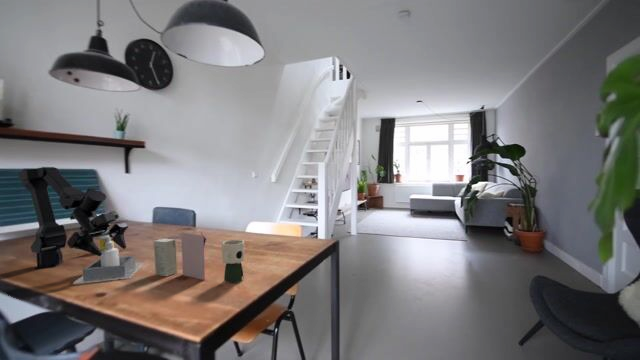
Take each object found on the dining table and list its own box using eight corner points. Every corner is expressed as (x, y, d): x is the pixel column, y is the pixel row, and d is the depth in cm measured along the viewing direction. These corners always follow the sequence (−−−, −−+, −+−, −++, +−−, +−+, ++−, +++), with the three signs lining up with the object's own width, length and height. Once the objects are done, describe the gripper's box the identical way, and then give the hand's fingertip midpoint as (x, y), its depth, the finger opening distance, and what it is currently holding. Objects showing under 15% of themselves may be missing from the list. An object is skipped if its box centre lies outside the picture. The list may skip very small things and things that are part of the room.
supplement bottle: (113, 249, 136) (112, 229, 136) (115, 251, 132) (114, 230, 132) (99, 251, 132) (98, 230, 132) (101, 253, 128) (100, 232, 128)
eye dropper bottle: (121, 270, 104) (119, 238, 103) (102, 275, 100) (100, 241, 99) (118, 268, 107) (117, 236, 106) (100, 272, 103) (98, 239, 102)
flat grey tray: (72, 284, 93) (72, 272, 93) (94, 268, 108) (94, 258, 108) (129, 278, 98) (129, 266, 98) (142, 264, 113) (142, 253, 113)
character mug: (236, 287, 89) (236, 246, 89) (215, 286, 90) (214, 246, 90) (250, 275, 100) (249, 238, 99) (231, 274, 101) (230, 237, 100)
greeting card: (207, 279, 96) (206, 235, 96) (182, 283, 93) (181, 238, 92) (204, 269, 106) (203, 229, 106) (182, 272, 103) (181, 231, 103)
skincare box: (177, 273, 103) (176, 239, 102) (166, 277, 99) (165, 242, 98) (165, 270, 105) (164, 237, 105) (154, 274, 102) (153, 240, 101)
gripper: (72, 208, 94) (99, 243, 92) (123, 202, 112) (147, 231, 110) (55, 230, 96) (81, 265, 94) (108, 221, 114) (131, 250, 112)
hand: (113, 251), depth 102 cm, fingers open, 9 cm apart
